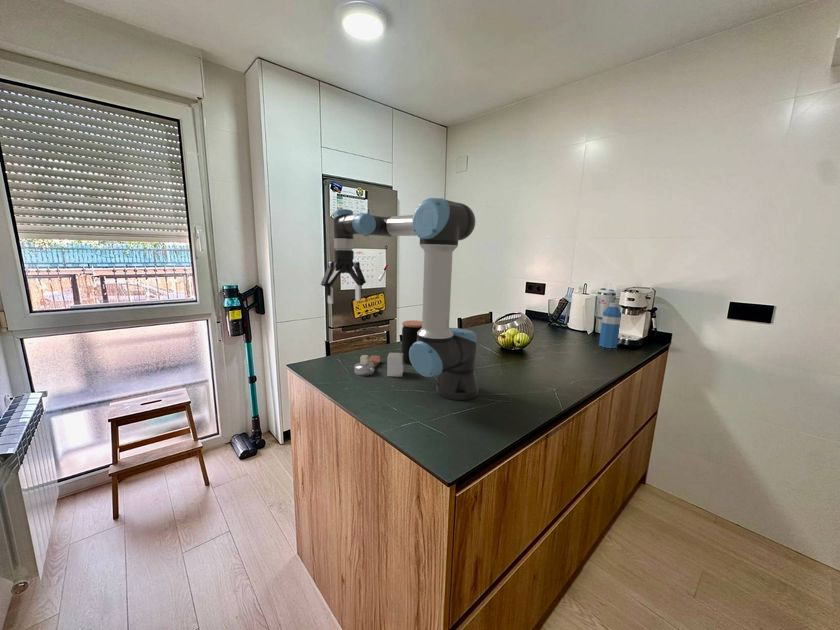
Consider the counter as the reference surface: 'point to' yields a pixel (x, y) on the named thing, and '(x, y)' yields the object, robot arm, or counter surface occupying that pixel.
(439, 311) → the robot arm
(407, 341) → the coffee jar
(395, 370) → the silver metal block
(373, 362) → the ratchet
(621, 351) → the counter surface
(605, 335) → the water bottle
